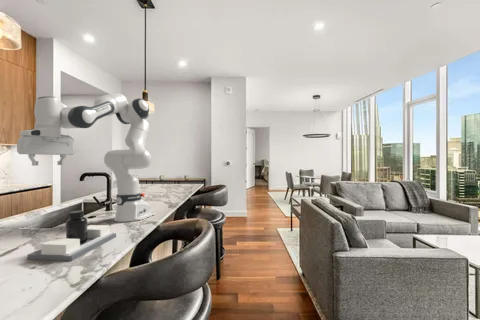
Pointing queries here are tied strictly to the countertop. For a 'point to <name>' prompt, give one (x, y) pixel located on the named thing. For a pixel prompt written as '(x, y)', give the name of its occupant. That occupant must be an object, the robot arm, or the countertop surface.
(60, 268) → the countertop surface
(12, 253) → the countertop surface
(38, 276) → the countertop surface
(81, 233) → the supplement bottle
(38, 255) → the rail panel
